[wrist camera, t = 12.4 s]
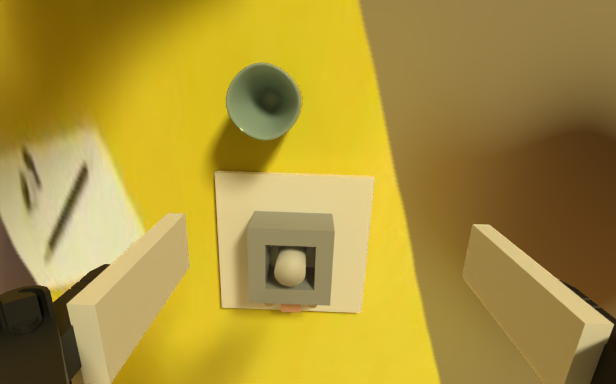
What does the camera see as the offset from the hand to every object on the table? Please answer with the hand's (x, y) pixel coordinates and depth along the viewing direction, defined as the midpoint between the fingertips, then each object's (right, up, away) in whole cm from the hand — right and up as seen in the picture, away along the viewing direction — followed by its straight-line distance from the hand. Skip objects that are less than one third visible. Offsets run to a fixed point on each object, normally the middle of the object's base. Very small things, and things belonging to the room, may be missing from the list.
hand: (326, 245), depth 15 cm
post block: (-3, -5, +35) cm, 36 cm away
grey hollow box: (-3, -8, +35) cm, 35 cm away
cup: (-5, +15, +29) cm, 33 cm away
